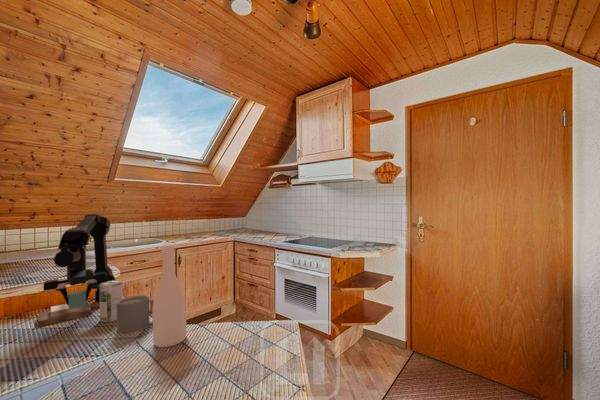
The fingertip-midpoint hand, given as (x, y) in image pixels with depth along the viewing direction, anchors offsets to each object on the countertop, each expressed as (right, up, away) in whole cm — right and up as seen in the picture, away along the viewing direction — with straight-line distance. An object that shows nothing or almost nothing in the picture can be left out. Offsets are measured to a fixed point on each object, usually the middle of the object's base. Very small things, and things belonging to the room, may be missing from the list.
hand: (77, 303), depth 105 cm
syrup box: (+12, -7, +2) cm, 14 cm away
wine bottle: (+45, -5, -19) cm, 49 cm away
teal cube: (0, -1, 0) cm, 1 cm away
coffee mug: (+27, -7, -5) cm, 28 cm away
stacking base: (-11, -9, +8) cm, 16 cm away
